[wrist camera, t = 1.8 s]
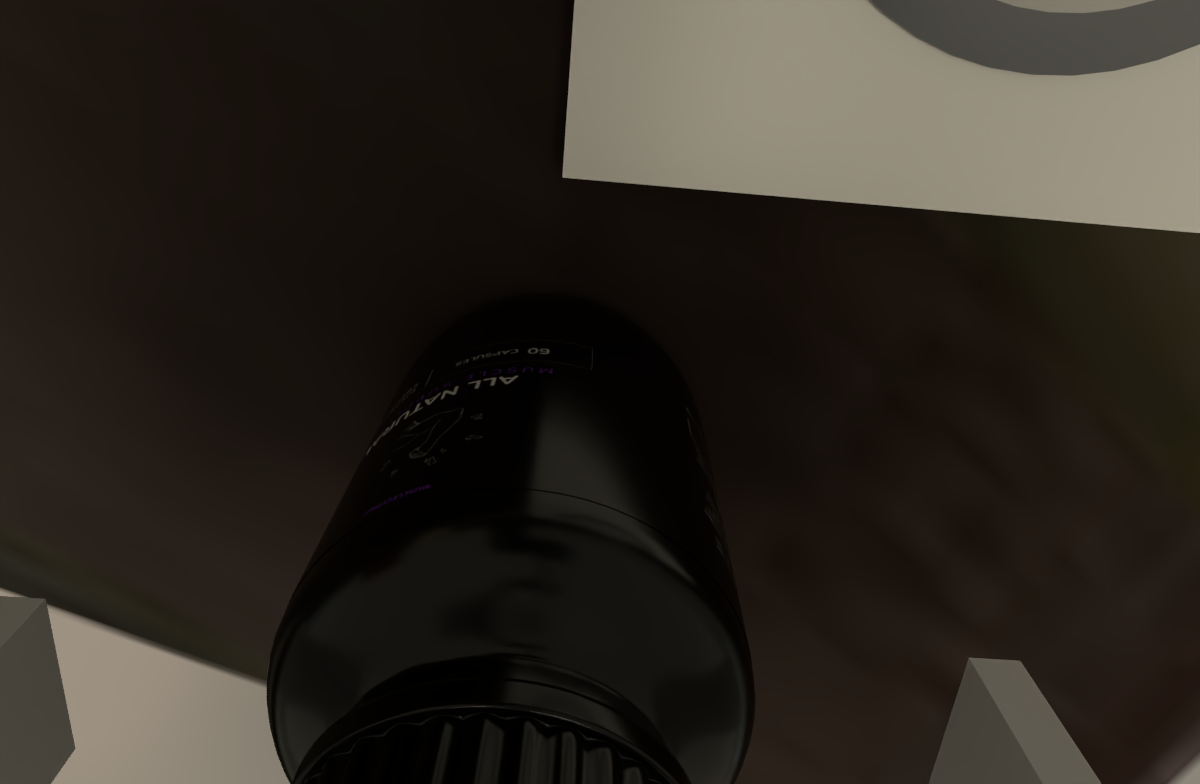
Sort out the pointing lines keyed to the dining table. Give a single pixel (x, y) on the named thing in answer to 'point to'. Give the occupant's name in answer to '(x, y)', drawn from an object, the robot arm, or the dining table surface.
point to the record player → (898, 103)
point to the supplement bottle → (522, 576)
